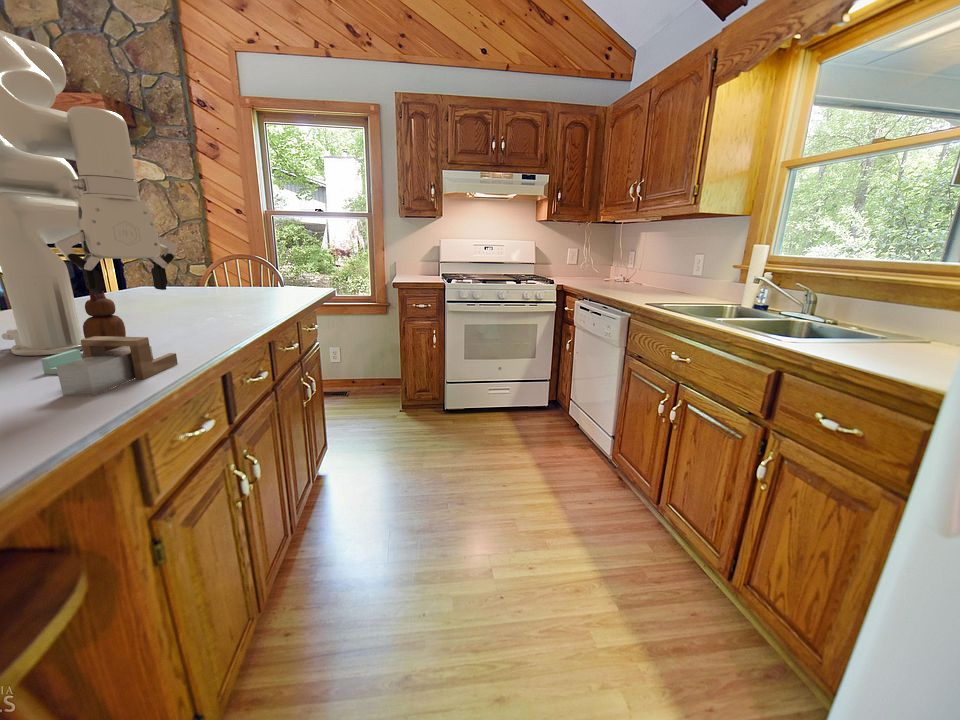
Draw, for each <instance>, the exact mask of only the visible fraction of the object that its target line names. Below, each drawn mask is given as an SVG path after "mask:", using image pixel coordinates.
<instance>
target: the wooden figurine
mask: <svg viewBox="0 0 960 720" xmlns="http://www.w3.org/2000/svg"><path fill="white" fill-rule="evenodd" d="M88 292H89V299H87V301H85V304H84V310H85V312H86V314H87V315H88V316H89V317H88V318H87V319H86V320H84V322H83V325H82V332H83V338H85V339H86V338H90V337H93V336H110V337H127V335H126V334H127V332H126V325H125V322H124V321H123V319H122V318H121V317H120V316H118V315H115V312H116V304H115V303H114V300H112V299H110V298H107V297H106V295H105V292H104V291H103V293H102V294H94V293H91V291H90V289H88ZM119 347H122V346H104V349H105V352H106V351H109V350H112V349H116V348H119Z"/></svg>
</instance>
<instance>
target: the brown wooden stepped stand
mask: <svg viewBox="0 0 960 720" xmlns="http://www.w3.org/2000/svg"><path fill="white" fill-rule="evenodd" d="M81 345H82V353H83V358H86V357H89V356H93V355H96V354H99V353H103V352H105V349H104V346H130V350H131V356H132V361H133V366H134V372H135V377H136V379H135V380H146V379H147V377H148V378H150V377H152V376H154V375H156V374H159V373H160V372H163V371H166V370H168V369H170V368H172V367H174V366H177V365H178V364H179V363H178V357H177V353H176V352H173V353H172V352H170V353H166V354H163V355H162V356H159V357H156V358H153V359H154V360H152V356H151V351H150V346H151V345H150V340H149V337H148V336H126V337H110V336H93V337H90V338H86V339H82V340H81ZM145 378H146V379H145Z"/></svg>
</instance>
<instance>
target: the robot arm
mask: <svg viewBox="0 0 960 720" xmlns="http://www.w3.org/2000/svg"><path fill="white" fill-rule="evenodd" d="M66 85H67V73H66V70H65V66H64V65H63V63H62V61H61V58H59V57H58V56H57V54H56V53H55V52H53V51H52V50H51V49H50V48H49V47H47V46H46V45H45V44H44V45H43V43H40V42H37V41H34V40H31V39H28V38H25V37H22V36H18V35H16V34H13V33H10V32H6V31H4V30H1V29H0V269H1V273H2V275H3V281H4V283H5V287H6V288H5V289H6V292H7V295H8V299H9V303H10V306H11V310H12V315H13V319H14V321H15V322H14V323H15V327H16V329H11V328H10V329H7V331H6V332H5V333H2V335H1V339H2V340H5V341H9V340H10V341H11V340H12V341H13V340H14V343H15V345H13V346H12V347H10V351H11V353H12V354H13V355H17V356H24V357H25V356H28V357H29V356H34V357H35V356H48V355H49V356H50V355H51V356H52V355H56V354H60V353H63V352H67V351H70V350H74V349H80V351H81V350H82V351H83V349H82V345H81V340H82V339H85V337H84V336H83V334H82V329H81V324H80V320H79V316H78V311H77V306H76V302H75V301H76V300H75V297H74V293H73V292H74V291H73V288H72V283H71V277H70V273H69V269H68V267H67V266H68V265H67V264H66V263H65V261H64V260H63V259H62V258H61V257H60V256H59V255H58V253H56V252H55V251H54V250H52V249H51V247H49V246H48V244H54V247H55V248H56V249H57V250H58V251H59V252H60V254H62V256H64V257H65V259H66V260H67V262H68V261H69V263H71V264H73V265H75V266H76V267H78V269H80V270H81V271H82V274H83V279H84V283H85V287H86V289H87V290H89V289H90V291H91V293H94V294H102V293H103V292H104V290H103V286H102V281H101V275H100V271H99V270H97V269H96V266H97V264H98V263H99V262H100V261H101V260H102V259H108V260H109V259H110V260H111V259H112V260H114V259H115V260H116V259H117V260H118V259H145V260H147V261H148V262H149V263H150V264H151V265H152V267H151V269H150V271H151V276H152V277H151V278H152V282H153V288H154V289H156V290H160V291H161V290H162V291H166V290H167V285H168V284H169V283H168V277H167V271H166V269H167V268H168V267H169V264H170V263H171V262H172V260H173V259H174V258H175V255H176V252H177V249H178V245H177V243H175V242H172V241H170V240H168V239H166V238H164V237H161V236H159V234H158V231H157V228H156V225H155V221H154V218H153V216H152V212H151V210H150V208H149V205H148V203H147V201H146V200H141V198H140V193H139V192H140V191H139V186H138V179H137V175H136V168H135V162H134V157H133V153H132V151H133V150H132V147H131V140H130V133H129V129H128V125H127V121H125V119H124V118H123V116H121V115H120V114H118V113H117V112H113V111H111V110H108V109H103V108H98V107H93V106H92V107H91V106H82V105H81V106H80V105H78V106H72V107H70V108H68V110H67V111H64V110H58V109H56V108H51V107H53V105H54V104H55V101H56V99H57V96H58V95H59V94H61V93H62V92H63V91H64V89H65V87H66ZM67 160H68V161H73V162H74V161H75V162H76V168H77V171H78V174H77V173H76V171H75V169H74V168H73V167H72V165H71V164H70V163H69V162H68V161H67ZM78 244H81V247H82V250H83V253H84V254H85V255H84V256H83V257H81V256H80V255H78V254H76V253H75V252H74V250H73V246H76V245H78ZM161 247H163V248H165V250H164V253H163V254H162V255H161V253H162V250H161Z"/></svg>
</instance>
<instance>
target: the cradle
mask: <svg viewBox="0 0 960 720" xmlns="http://www.w3.org/2000/svg"><path fill="white" fill-rule="evenodd" d="M83 358H84V357H82V353H81V350H80V349H74V350H70V351H67V352H63V353H60V354H52V355H51V356H50V355H49V356H46V357H44V358H43V357H42V358H40V361H41V365H42V368H43V373H44V374H45V375H58V372H57V368H56V367H57V366H60V365H63V364H66V363H70V362H73V361H76V360H80V359H83Z"/></svg>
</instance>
